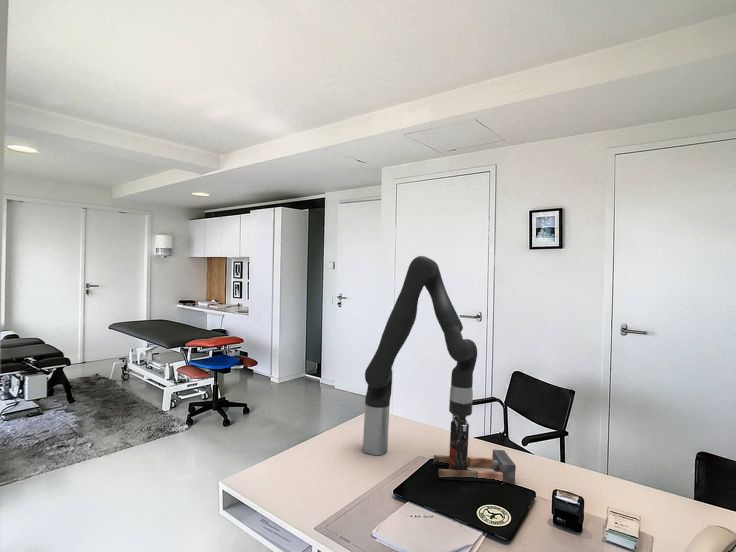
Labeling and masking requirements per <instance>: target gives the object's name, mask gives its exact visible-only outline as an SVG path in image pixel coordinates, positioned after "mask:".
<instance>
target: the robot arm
mask: <svg viewBox="0 0 736 552" xmlns="http://www.w3.org/2000/svg"><path fill="white" fill-rule="evenodd" d="M424 287H425V289H426V291H427V292H428V294H429V296H430V298H431V302H432V305H433V311H434V314H435V318H436V320H437V322H438V325H439V326H440V328H441V331H442V333H443V336H444V340H445V344H446V349H447V352H448V355H449V356H450V357H451V359H452V360H454V361H455V362H456V365H455V366H454V367H453V368H452V370H451V378H450V380H451V382H450V389H449V405H448V406H449V407H448V410H449V412H450V414H452V420H451V422H452V421H453V422H455V425H456V434H457V435H458V449H457V452H458V453H460V454H464V453H465V443H467V442H468V443H469V435H468V428H469V429H470V425H469V426H468V425H467V423H468V420H467V417H469V416H472V414H473V398H474V395H473V394H474V392H473V381H474V379H473V378H474V371H475V366H476V363H477V359H478V347H477V344H476V343H475V341H473V340H472V339H468V338H465V339H464V338H463V336H462V335H463V334H462V331H463V329H464V327H463V326H464V325H463V323H462V321H461V319H460V317H459V315H458V313H457V311H456V309H455V307H454V304H453V303H452V301H451V299H450V297H449V295H448V292H447V289H446V286H445V284H444V281H443V278H442V274H441V271H440V268H439V265H438V264H437V262H436V261H435V260H433V259H431V258H429V257H427V256H424V255H419V256H416V257H415V258H414V259H412V261H411V262H410V264H409V266H408V267H407V272H406V274H405V278H404V281H403V284H402V288H401V290H400V292H399V295H398V297H397V299H396V301H395V303H394V305H393V308H392V310H391V312H390V314H389V317H388V318H387V321H386V323H385V327H384V329H383V332H382V334H381V338H380V341H379V344H378V347H377V349H376V351H375V353H374V355H373V358H372V359H371V361H370V362H369V364H368V365H367V367H366V369H365V372H364V379H365V382H366V384H367V390H366V393H365V398H364V419H363V436H362V437H363V439H362V453H363V454H367V455H372V456H382V455H385V454H387V452H388V447H389V430H390V429H389V427H390V408H391V407H390V405H391V396H392V389H393V388H392V387H393V386H392V385H393V366H394V362H395V360H396V358H397V356H398V354H399V352H400V351H401V349H402V348H403V346H404V344H405V343H406V341H407V339H408V337H409V336H410V334H411V331H412V329H413V327H414V325H415V322H416V320H417V319H416V318H417V314H418V304H419V298H420V295H421V293H422V290H423V289H424ZM457 426H458V427H459V428H460V432H459V431H458V427H457ZM462 436H464V438H462Z"/></svg>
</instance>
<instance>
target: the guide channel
mask: <svg viewBox="0 0 736 552" xmlns="http://www.w3.org/2000/svg"><path fill="white" fill-rule="evenodd" d="M436 461H439V462H443V463H448V464H449V455H439V454H434V455H433V463H434V462H436ZM516 467H517V465H516V464H515V462H514V461H513V460H512V459H511V457H510V456H509V454H508V453H507V452H506V450H503V449H501V450H500V449H492V456H491V457H476V456H475V457H473V456H468V457H467V468H477V469H479V468H481V469H493V470H494V471H486V470H485V471H484V470H468V469H467V470H451V469H450V468H448V469H447V468H445V469H444V468H438V475H439V477H474V478H476V477H477V478H486V479H495V480H499V481H503V482H506V483H510V485H515V484H516ZM438 475H437V476H438Z"/></svg>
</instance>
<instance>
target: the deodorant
mask: <svg viewBox="0 0 736 552" xmlns="http://www.w3.org/2000/svg"><path fill="white" fill-rule="evenodd" d="M467 425H468V426H469V428H468V436H469V435H470V434H469V433H470V432H469V431H470V425H469V423H468V422H467ZM457 427H458V426H457ZM458 431H459V432H460V428H459V427H458ZM449 435H450V436H449V437H450V438H449V455H448V456H449V466H448V469H450V470H468V467H467V457H469V455H468V452H469V441H468V442H467V443H465V453H464V454H460V453H458V452H457V449H458V435H457V434H456V425H455V422H453V421H452V420H451V421H450V434H449ZM462 438H464V436H462Z"/></svg>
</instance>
